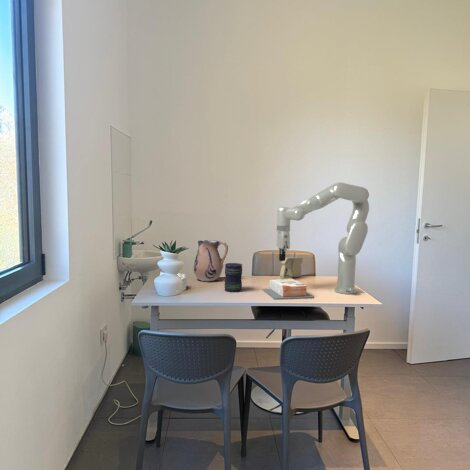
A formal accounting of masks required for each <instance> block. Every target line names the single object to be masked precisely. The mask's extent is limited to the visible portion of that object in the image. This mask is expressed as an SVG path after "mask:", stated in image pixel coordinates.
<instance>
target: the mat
mask: <svg viewBox="0 0 470 470" xmlns="http://www.w3.org/2000/svg"><path fill="white" fill-rule="evenodd" d="M262 291H263V292H264V293H265V294H267V295H268V296H269V297H271V298H272V299H273V300H275V301H276V300H299V299H301V300H302V299H314V296H312V295H311V294H309V293H308V292H306V296H289V297H282V296H280V295H279V294H277V293H276V292H274V291H273V290H271V289H270V288H262Z"/></svg>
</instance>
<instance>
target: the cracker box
mask: <svg viewBox="0 0 470 470" xmlns="http://www.w3.org/2000/svg"><path fill="white" fill-rule="evenodd" d="M268 285H269V288H268V289H271V290H273V291H274V292H276V293H277V294H279V295H280V296H282V297H289V296H306V293H307V287H308V285H306V284H304V283H302V282H301V281H298V280H296V279H294V278H293V277H292V278H285V279H280V278H269V284H268Z"/></svg>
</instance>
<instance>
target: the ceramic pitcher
mask: <svg viewBox="0 0 470 470" xmlns="http://www.w3.org/2000/svg"><path fill="white" fill-rule="evenodd" d="M197 245H198V248H197V253H196V256H195V260H194V264H193V273H194V275H195V277H196V278H197V279H198V280H199V281H201V282H214V281H216V280H217V279H219V278H220V276H221V274H222V270H223V269H224V262H225V259H226V258H227V257H226V256H227V255H228V251H229V246H228V244H227V243H226V242H224V241H219V240H214V239H213V240H211V239H205V240H197ZM220 245H223V246H224V247H225V250H224V254H223V257H221V256H220V253H219V250H218V248H219V246H220Z"/></svg>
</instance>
